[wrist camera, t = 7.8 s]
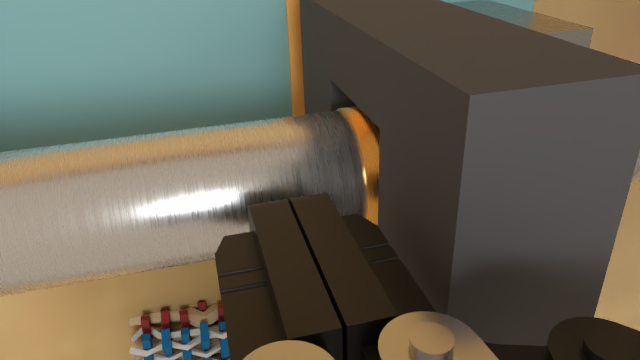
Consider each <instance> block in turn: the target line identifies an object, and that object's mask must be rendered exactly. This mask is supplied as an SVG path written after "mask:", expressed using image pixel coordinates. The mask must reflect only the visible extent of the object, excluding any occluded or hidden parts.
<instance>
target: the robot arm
mask: <svg viewBox="0 0 640 360" xmlns="http://www.w3.org/2000/svg"><path fill="white" fill-rule="evenodd" d="M248 219H249V228H250V232H245V233H240V234H234V235H228V236H224V237H223V239H222V241H221V243H220V245H219V247H218V249H217V251H216V253H215V260H216V267H217V273H218V280H219V287H220V293H221V300H222V306H223V313H224V320H225V326H226V333H227V340H228V346H229V353H230V360H640V331H637V330H635V329H632V328H629V327H626V326H624V325H621V324H618V323H615V322H612V321H609V320H605V319H600V318H593V317H575V318H570V319H566V320H564V321H562V322H560V323H558V324H557V325H555V326H554V327H553V328H552V330H551V331H550V334H549V337H548V340H547V345H546V346H531V345H506V344H493V343H488V342H483V341H482V340H481V338H480V337H479V336H478V335H477V334H476V333H475V332H474V331H473V330H472V329H471V328H470V327H469V326H467V325H466V324H465V323H463V322H461V321H460V320H458V319H456V318H454V317H451V316H449V315H445V314H442V313H437V312H436V311H435V309H434V308H433V306H432V305H431V303H430V302H429V300H428V299H427V298H426V296H425V295H424V293H423V292H422V290H421V289H420V287H419V286H418V284H417V283H416V281H415V280H414V278H413V277H412V276H411V274H410V273H409V271H408V270H407V268H406V267H405V265H404V264H403V262H402V261H401V260H399V258H398V255H397V254H396V252H395V251H394V249H393V248H392V246H389V242H388V240H387V239H386V237H385V236H384V234H383V233H382V232H381V230H380V229H379V227H378V226H377V225H376V224H374V223H372V222H371V221H369V220H367V219H366V218H364V217H363V216H361V215H359V214H358V213H356V214H351V215H345V216H341V215H340V214H339V212H338V210H337V209H336V207H335V205H334V203H333V202H332V200H331V198H330V197H329V195H328V194H327V193H320V194H314V195H308V196H301V197H295V198H289V199H288V201H287V199H283V200H277V201H271V202H264V203H258V204H252V205H248Z"/></svg>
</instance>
